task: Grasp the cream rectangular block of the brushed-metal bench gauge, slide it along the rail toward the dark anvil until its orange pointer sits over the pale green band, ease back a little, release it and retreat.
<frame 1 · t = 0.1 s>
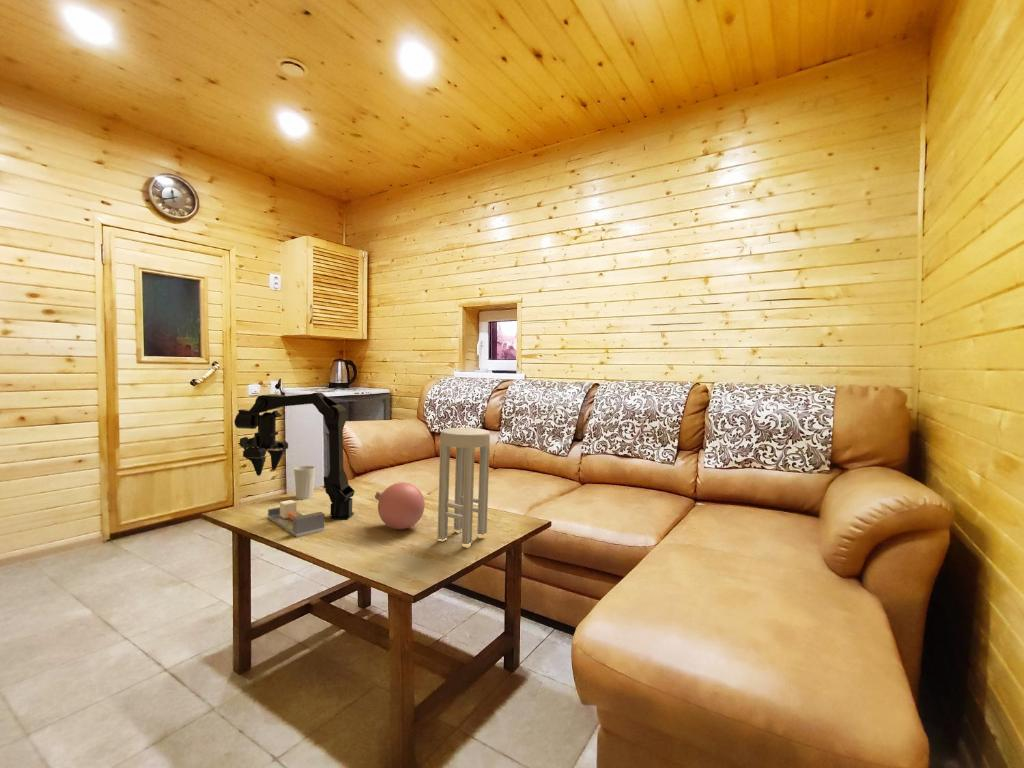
hand: (266, 472, 172), 15 cm above the table, fingers open, 9 cm apart
balloon: (396, 527, 163), on the table
cup: (304, 497, 192), on the table
gauge: (295, 523, 162), on the table
cream rectangular block: (291, 510, 164), point 4 cm above the table, slide at 0.0 cm
stool: (462, 539, 153), on the table
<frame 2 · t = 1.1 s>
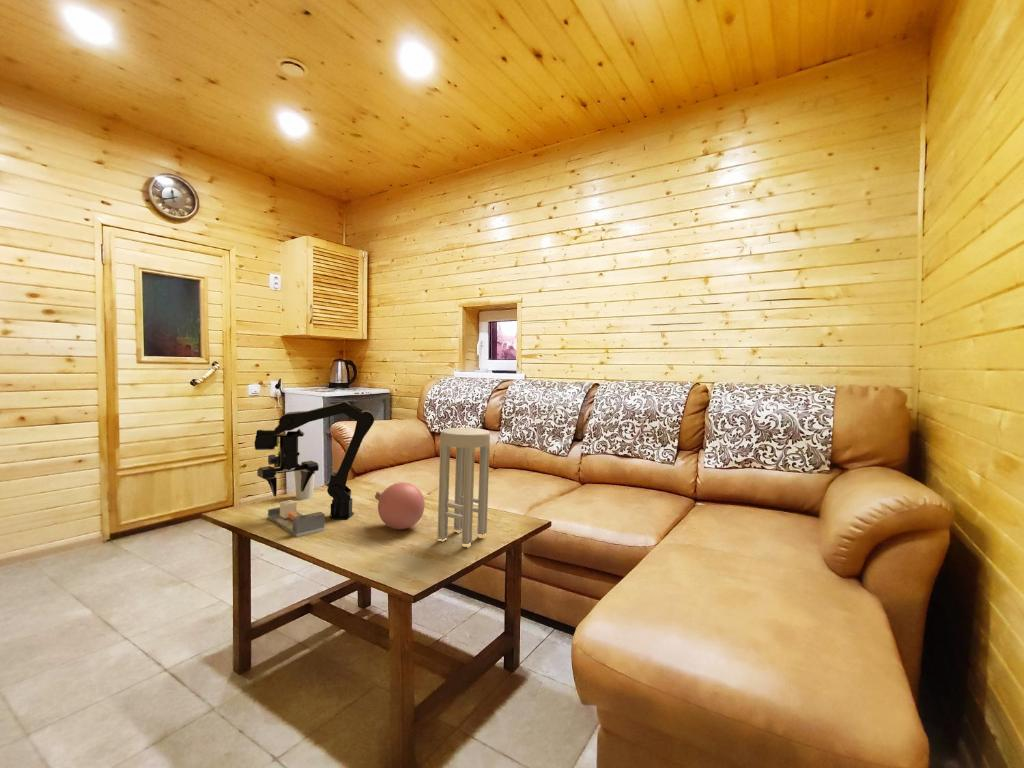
hand: (288, 493, 165), 9 cm above the table, fingers open, 9 cm apart
nothing on the table moved.
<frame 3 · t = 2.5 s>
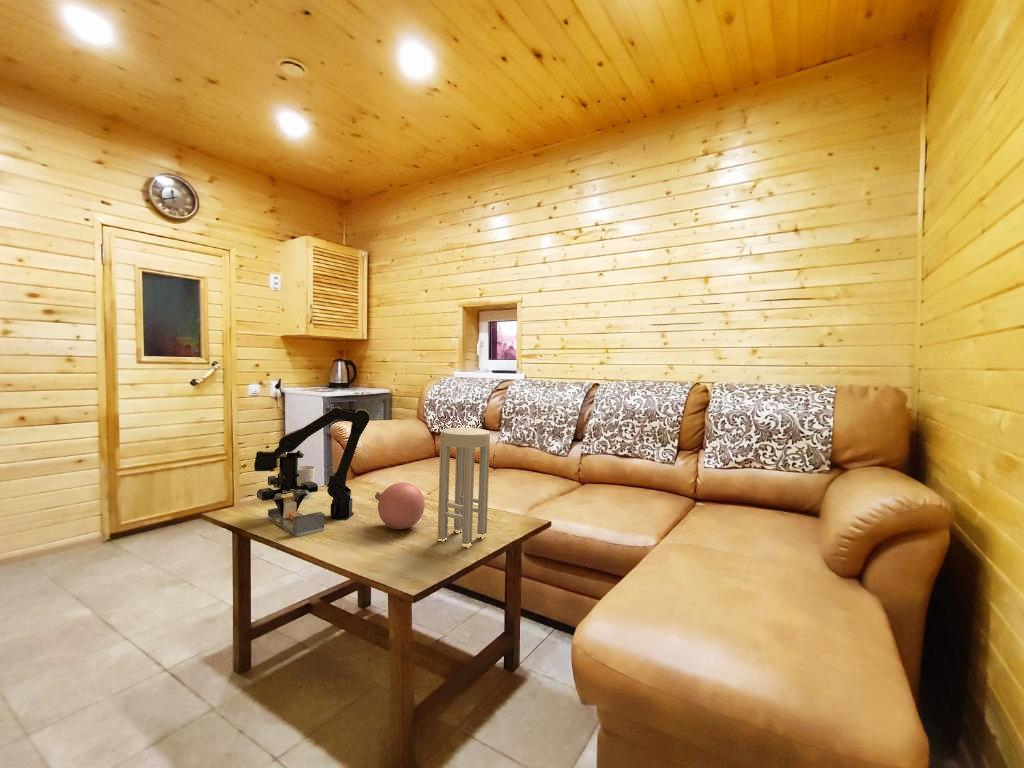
hand: (288, 514, 166), 2 cm above the table, fingers closed on cream rectangular block, 4 cm apart
cream rectangular block: (291, 510, 164), point 4 cm above the table, slide at 0.0 cm, touching gripper
everything else where it was.
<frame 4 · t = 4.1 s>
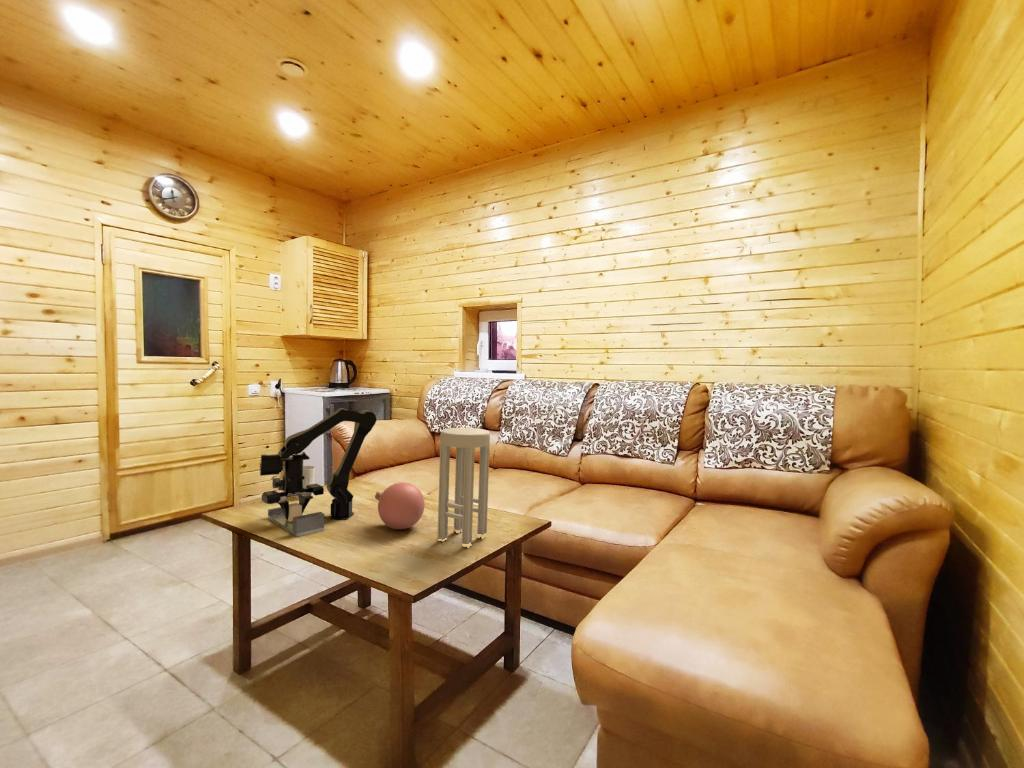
hand: (293, 518, 163), 2 cm above the table, fingers closed on cream rectangular block, 4 cm apart
cream rectangular block: (296, 513, 161), point 4 cm above the table, slide at 4.4 cm, touching gripper
everything else where it was.
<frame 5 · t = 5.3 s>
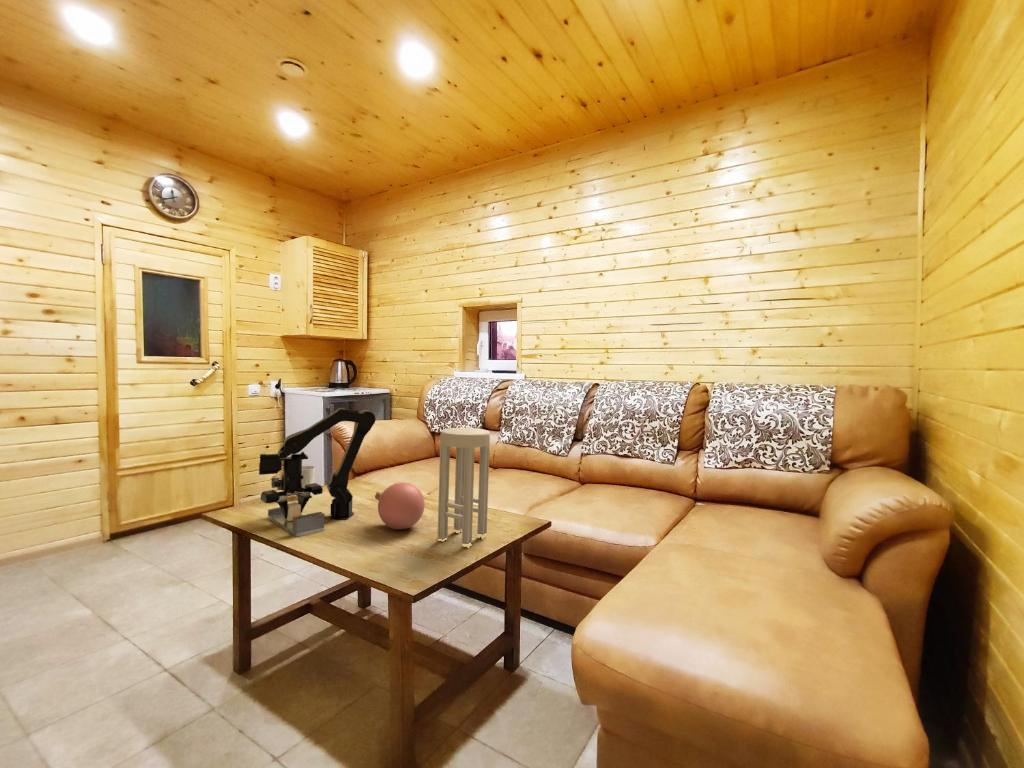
hand: (292, 517, 163), 2 cm above the table, fingers closed on cream rectangular block, 4 cm apart
cream rectangular block: (295, 513, 161), point 4 cm above the table, slide at 3.5 cm, touching gripper
everything else where it was.
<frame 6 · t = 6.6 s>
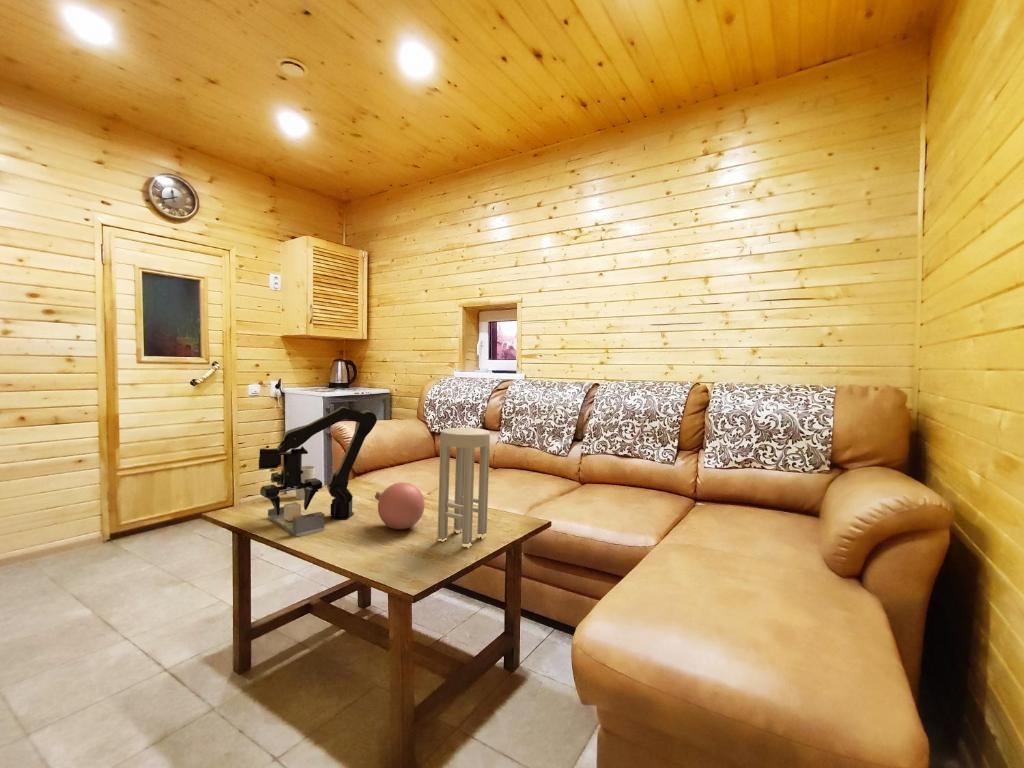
hand: (291, 512, 163), 3 cm above the table, fingers open, 9 cm apart
cream rectangular block: (295, 513, 161), point 4 cm above the table, slide at 3.5 cm
everything else where it was.
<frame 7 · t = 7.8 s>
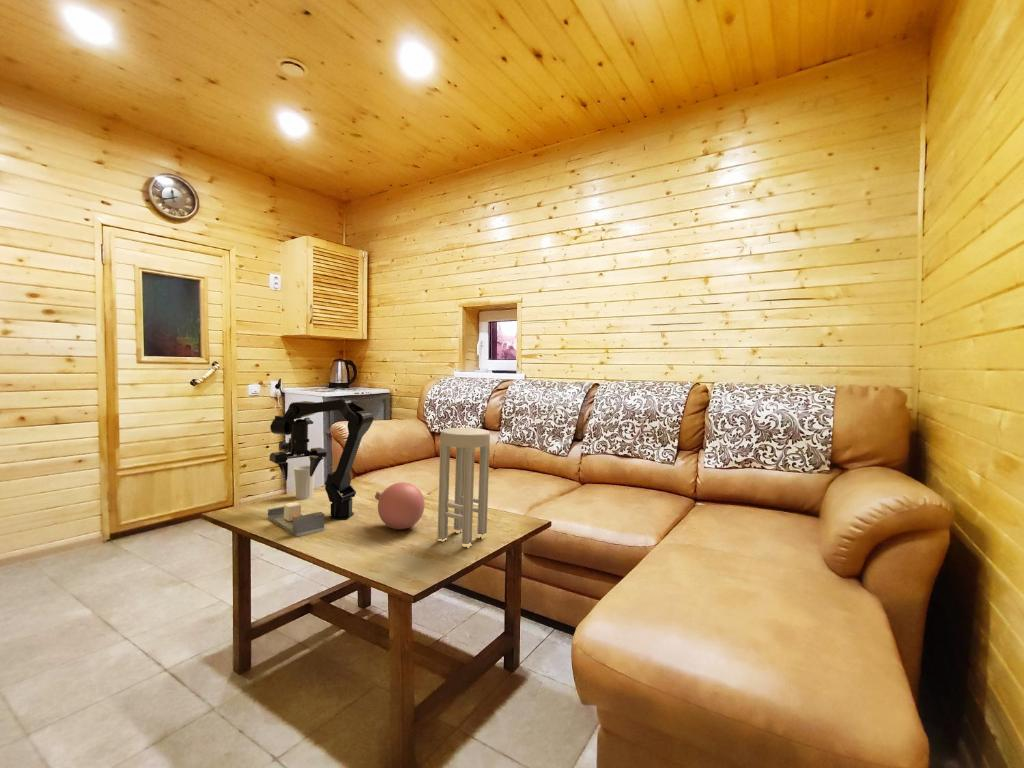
hand: (298, 478, 175), 12 cm above the table, fingers open, 9 cm apart
nothing on the table moved.
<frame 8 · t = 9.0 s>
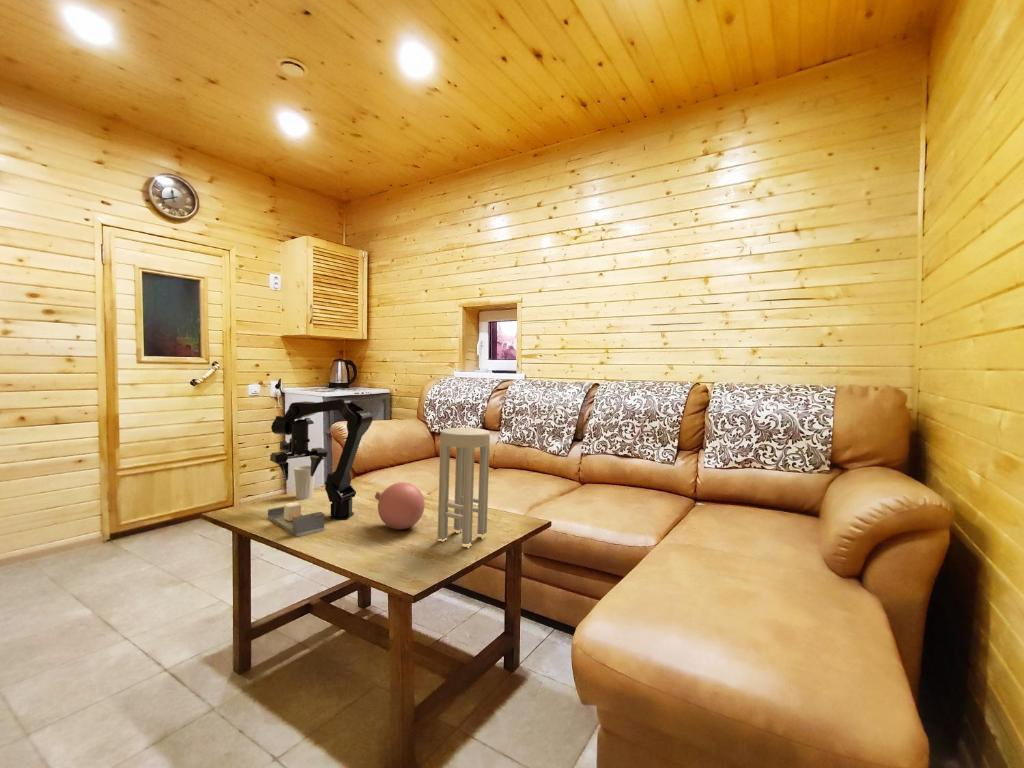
hand: (299, 478, 175), 12 cm above the table, fingers open, 9 cm apart
nothing on the table moved.
at the end: cream rectangular block slide at 3.5 cm; the gripper is holding nothing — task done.
